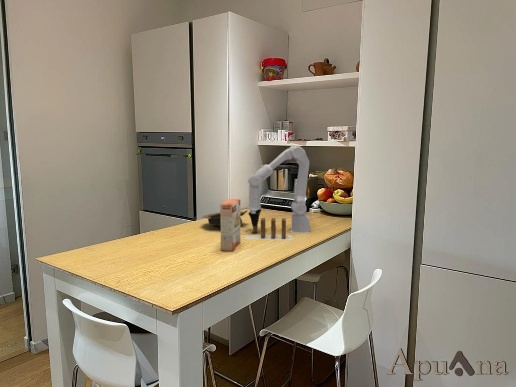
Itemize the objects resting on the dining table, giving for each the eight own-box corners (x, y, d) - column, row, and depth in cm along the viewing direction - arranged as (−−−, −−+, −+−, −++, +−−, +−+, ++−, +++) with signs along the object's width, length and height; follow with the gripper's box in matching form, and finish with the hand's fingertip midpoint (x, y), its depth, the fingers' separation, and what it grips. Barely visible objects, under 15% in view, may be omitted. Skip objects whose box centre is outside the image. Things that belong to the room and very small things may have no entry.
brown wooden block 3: (275, 236, 192) (275, 218, 191) (275, 238, 187) (274, 220, 186) (271, 236, 192) (271, 218, 191) (271, 238, 187) (271, 220, 186)
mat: (292, 236, 193) (292, 235, 193) (291, 241, 185) (291, 240, 184) (246, 235, 196) (246, 234, 196) (243, 240, 187) (243, 239, 187)
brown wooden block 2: (265, 236, 193) (265, 218, 191) (264, 238, 188) (264, 220, 186) (261, 235, 193) (261, 218, 192) (260, 238, 188) (260, 220, 187)
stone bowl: (243, 232, 202) (241, 214, 201) (197, 234, 207) (195, 217, 205) (251, 220, 226) (250, 205, 225) (209, 223, 231) (208, 207, 229)
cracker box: (233, 251, 170) (232, 204, 166) (220, 251, 171) (219, 203, 168) (241, 242, 183) (240, 198, 180) (229, 242, 184) (228, 198, 181)
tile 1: (285, 236, 192) (285, 218, 190) (285, 239, 187) (285, 220, 185) (282, 236, 192) (282, 218, 190) (281, 238, 187) (281, 220, 186)
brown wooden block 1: (257, 230, 203) (257, 213, 202) (256, 232, 198) (256, 215, 197) (254, 230, 203) (253, 213, 202) (253, 232, 198) (252, 215, 197)
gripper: (248, 196, 206) (249, 221, 208) (245, 201, 191) (245, 228, 193) (262, 196, 205) (262, 221, 207) (259, 201, 191) (259, 228, 193)
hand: (255, 224), depth 200 cm, fingers closed on brown wooden block 1, 5 cm apart
